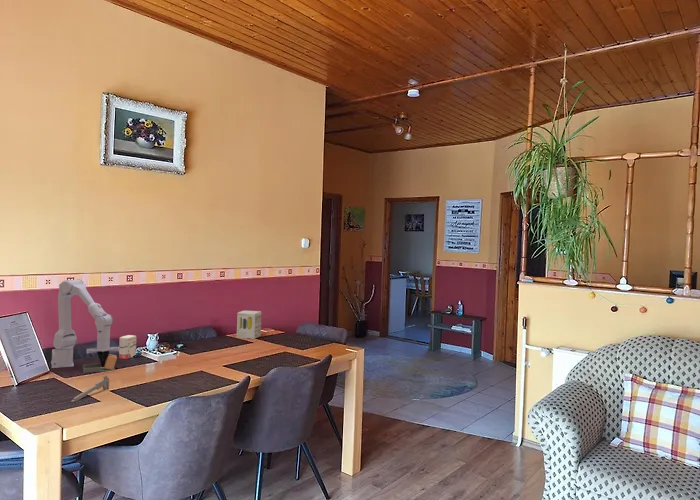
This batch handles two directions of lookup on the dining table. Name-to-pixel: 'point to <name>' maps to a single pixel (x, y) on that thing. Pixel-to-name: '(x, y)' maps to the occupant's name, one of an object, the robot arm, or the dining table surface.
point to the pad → (106, 369)
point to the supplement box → (249, 324)
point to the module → (110, 361)
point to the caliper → (96, 386)
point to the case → (91, 368)
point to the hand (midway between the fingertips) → (102, 366)
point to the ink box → (127, 346)
